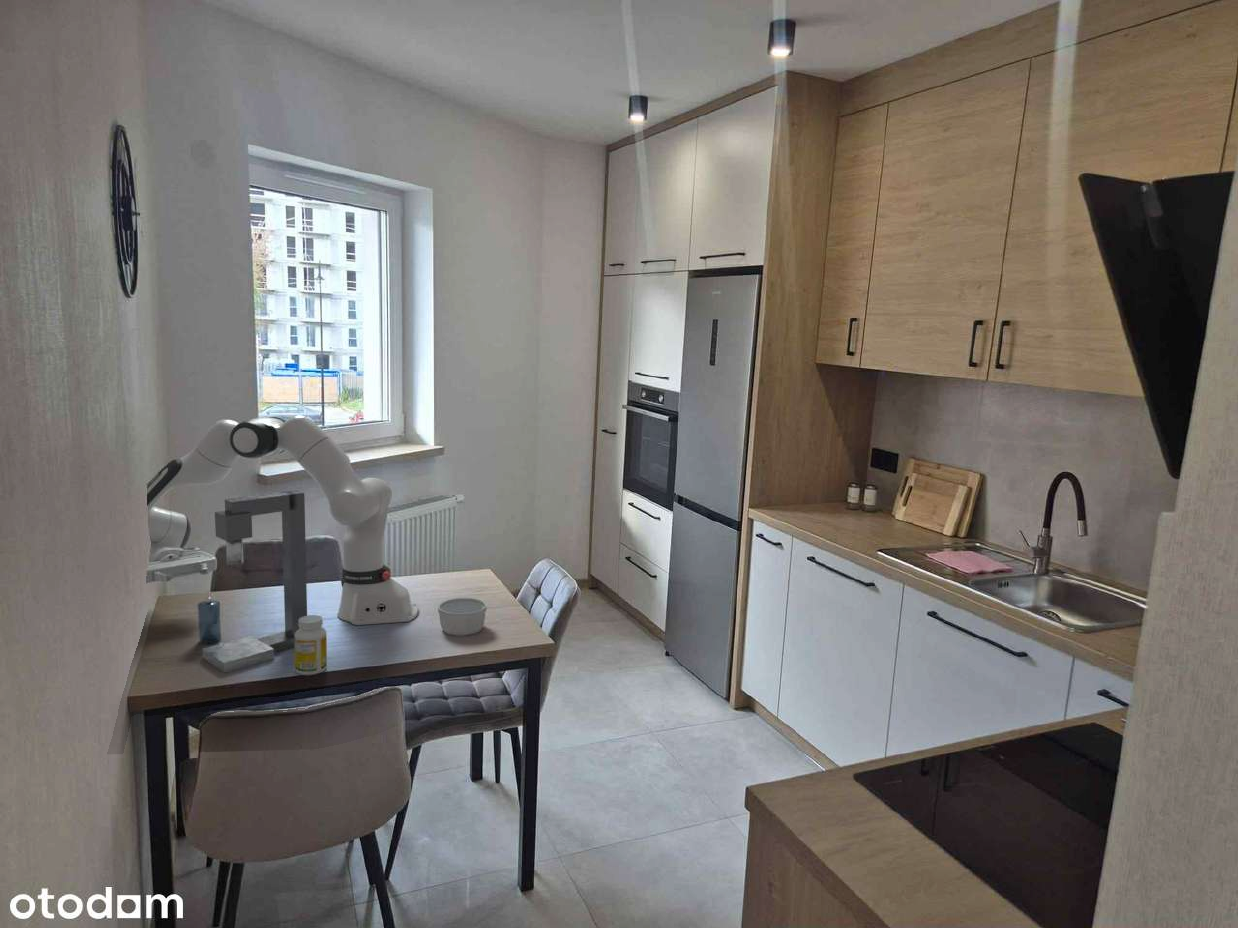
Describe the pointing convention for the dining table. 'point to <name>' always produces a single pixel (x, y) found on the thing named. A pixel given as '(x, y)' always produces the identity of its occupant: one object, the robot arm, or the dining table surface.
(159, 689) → the dining table surface
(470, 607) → the ramekin
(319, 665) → the supplement bottle
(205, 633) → the blue bottle with knob
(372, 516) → the robot arm
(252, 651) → the press
